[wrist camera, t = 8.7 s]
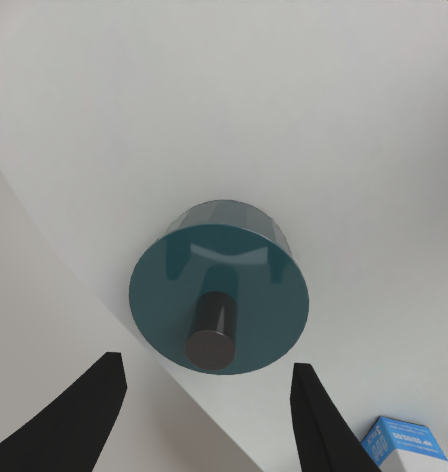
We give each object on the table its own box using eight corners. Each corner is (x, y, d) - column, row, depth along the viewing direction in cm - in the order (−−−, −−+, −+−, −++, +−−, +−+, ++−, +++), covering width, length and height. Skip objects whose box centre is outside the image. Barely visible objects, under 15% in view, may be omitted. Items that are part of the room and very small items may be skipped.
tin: (144, 279, 22) (114, 324, 17) (197, 174, 19) (179, 192, 14) (247, 330, 23) (247, 386, 18) (315, 240, 20) (338, 279, 15)
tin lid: (112, 318, 18) (74, 374, 14) (178, 181, 14) (151, 204, 10) (248, 383, 19) (248, 451, 15) (342, 272, 15) (375, 323, 11)
